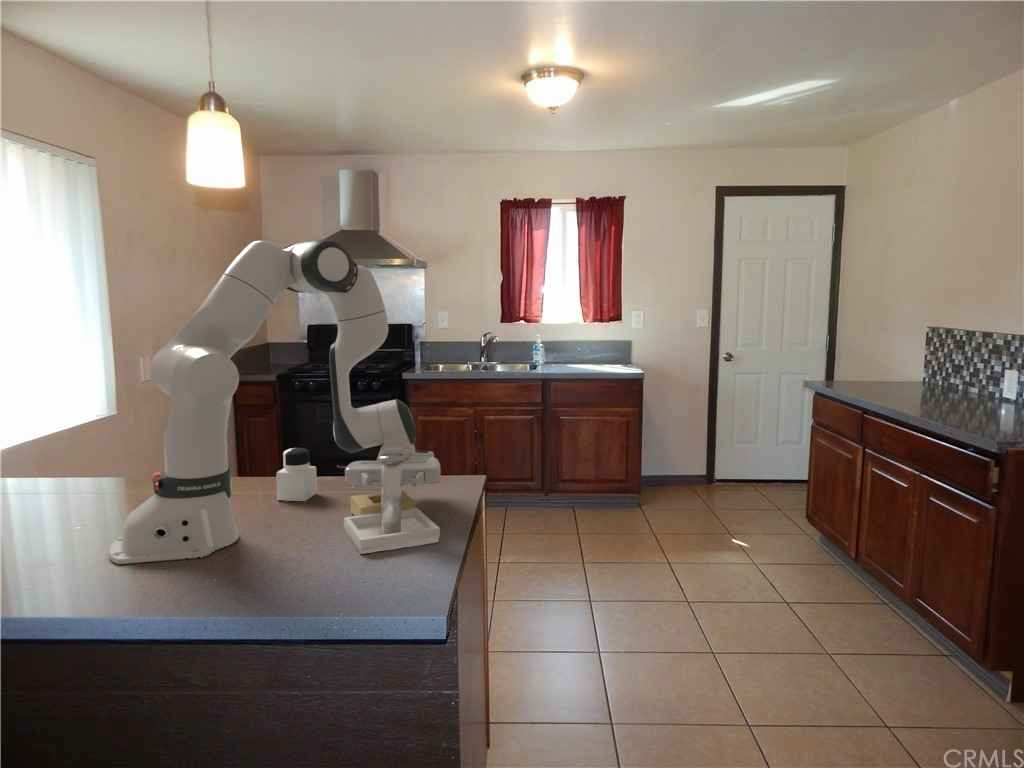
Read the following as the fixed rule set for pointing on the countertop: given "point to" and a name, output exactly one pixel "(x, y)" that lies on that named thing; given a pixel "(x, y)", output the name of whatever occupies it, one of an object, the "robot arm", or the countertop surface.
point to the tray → (368, 530)
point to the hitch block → (375, 503)
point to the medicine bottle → (296, 476)
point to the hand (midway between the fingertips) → (391, 482)
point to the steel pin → (391, 492)
